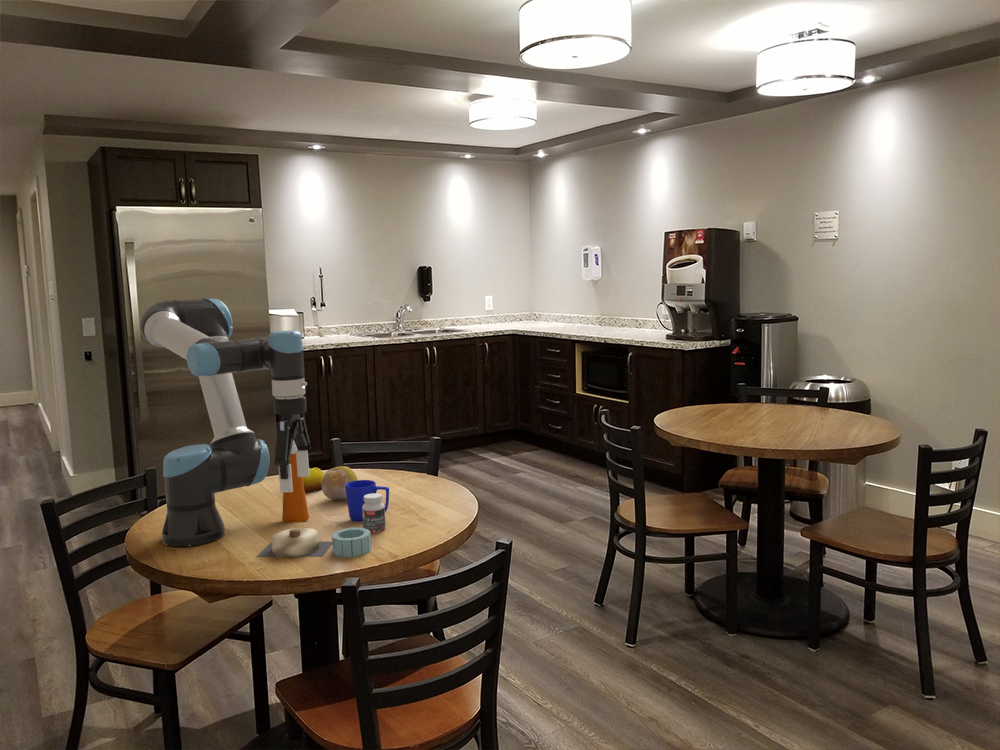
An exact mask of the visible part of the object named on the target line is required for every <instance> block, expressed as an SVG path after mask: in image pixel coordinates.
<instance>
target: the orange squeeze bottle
mask: <svg viewBox="0 0 1000 750" xmlns="http://www.w3.org/2000/svg"><path fill="white" fill-rule="evenodd" d="M296 451H299V450H298V449H297V447H296V444H295V442H294V440H293V443H292V449H291V455H290V462H289V464H291V471H292V486H293V492H282V519H281V521H282V522H283V523H305V522H306V521H309V519H310V515H309V510H308V503H307V497H306V493H305V490H304V484H303V478H302V477H298V474H297V459H296Z"/></svg>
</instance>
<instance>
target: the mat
mask: <svg viewBox="0 0 1000 750" xmlns="http://www.w3.org/2000/svg"><path fill="white" fill-rule="evenodd" d="M331 547H332V541H319V549H318V550H316V551H315V552H313V553H310V554H307V555H303V556H298V557H297V558H300V557H301V558H303V557H307V558H308V557H310V558H311V557H313V558H315V557H317V558H319V557H324V555H325V554H326V553H327V552H328V550H329V549H330V548H331ZM255 557H256V558H281V557H280V556H276V555H274V554H273V552H272V541H270V542H269V544H268V545H266V546H265V547H264V548H263V549H262V550H261V551H260V552H259V553H258V554H257V555H256V556H255Z"/></svg>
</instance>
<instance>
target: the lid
mask: <svg viewBox="0 0 1000 750" xmlns="http://www.w3.org/2000/svg"><path fill="white" fill-rule="evenodd" d="M319 534H320V533H319V531H318V530H316V529H315V528H308V527H298V528H296V527H295V528H289V529H285V530H284V529H283V530H281V531H278V532H276V533H275V534H272V536H271V537H270V538H271V539H270V540H271V542H272V552H273V554H274V555H276V556H280V557H279V558H299V557H298V556H303V555H307V554H310V553H313V552H315V551H316V550H318V549H319V542H320V535H319Z"/></svg>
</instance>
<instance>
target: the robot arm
mask: <svg viewBox="0 0 1000 750" xmlns="http://www.w3.org/2000/svg"><path fill="white" fill-rule="evenodd" d="M138 328H139V329H138V330H139V332H140V334H141V336H142V338H143V339H144V340H145V341H147V343H149V344H150V345H152V346H154V347H158V348H165V349H167V350H170V352H172V353H174V354H176V355H177V356H180V357H181V358H182V359H184V360H186V364H187V365H186V366H187V367H188V369H189V370H190V373H191V374H192V375H193V376H195V377H198V379H199V383H200V386H201V391H202V395H203V397H204V401H205V405H206V410H207V413H208V417H209V421H210V426H211V428H212V432H213V436H214V437H213V438H212V440H211V442H210V444H206V443H198V444H191V445H185V446H183V447H180V448H177V449H174V450H171V451H170V452H168V453H167V454H166V455H165V456H164V458H163V460H162V461H163V462H162V463H163V464H162V467H163V470H162V475H163V481H164V489H165V490H164V491H165V501H166V503H165V504H166V515H165V520H164V522H163V527H162V530H161V538H162V539H161V542H162V541H163V542H162V544H164V543H165V544H167V545H166V546H168V545H173V546H172V547H174V546H186V547H190V546H189V545H195V546H199V545H198V544H201V545H204V544H203V543H205V544H208V542H209V543H211V541H212V542H214V540H215V541H216V540H217V541H218V540H219V539H221V538H222V537H223V536H224V535H225V533H226V530H225V529H226V528H225V524H224V521H223V518H222V517H221V514H220V512H219V510H218V508H217V506H216V495H215V494H217V493H222V492H227V491H230V490H236V489H238V488H244V487H250V486H252V485H256V484H259V483H261V482H263V481H264V480H265V479H266V478H267V476H268V473H269V468H270V463H271V462H270V461H271V459H270V451H269V448H268V445H267V444H266V442H265V441H264V440H263V439H259V438H258V439H257V437H256V434H255V431H253V430H251V429H249V428H248V427H247V424H246V419H245V416H244V411H243V408H242V405H241V401H240V397H239V394H238V391H237V387H236V384H235V378H234V376H233V373H241V372H250V371H251V372H252V371H259V370H270V372H271V389H272V390H271V391H272V396H273V397H274V398H273V400H272V401H273V413H274V414H275V415H277V416H281V421H277V422H276V438H275V439H276V440H275V449H274V450H275V451H274V452H275V454H274V461H273V464H274V466H278V479H279V480H278V481H279V492H280V493H283V492H293V486H292V471H291V464H289V462H290V455H291V449H292V443H293V440H294V442H295V444H296V447H297V449H298V451H296V459H297V474H298V477H309V468H310V465H309V464H310V463H309V452H308V450H310V451H311V450H312V445H311V440H310V436H309V432H308V429H307V428H308V427H307V424H306V418H305V417H306V416H305V413H306V412H307V409H308V407H307V397H306V396H305V395H306V386H308V382H307V381H305V361H304V360H305V359H304V345H303V338H302V337H303V336H302V333H301V332H300V331H299V330H276V331H272V332H270V333H269V335H268V337H265V336H261V337H260V336H257V337H253V338H250V339H241V340H240V339H238V340H229V338H230V337H231V335H233V330H234V329H233V328H234V326H233V318H232V315H231V312H230V310H229V308H228V307H227V305H226V304H225V303H224V302H223V301H221V300H219V299H218V298H207V297H200V298H193V299H189V298H188V299H173V300H171V299H170V300H169V299H168V300H161V301H158V302H156V303H154V304H152V305H150V306H149V307H147V308H146V309H145V310H144V311H143V313H142V314H141V317H140V319H139V323H138ZM165 544H164V545H165Z"/></svg>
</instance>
